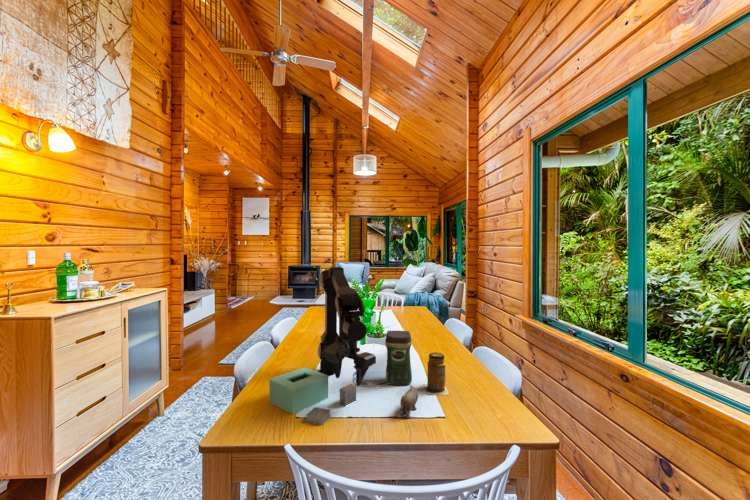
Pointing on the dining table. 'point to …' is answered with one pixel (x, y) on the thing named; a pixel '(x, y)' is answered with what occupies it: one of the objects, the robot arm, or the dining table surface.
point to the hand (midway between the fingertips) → (347, 381)
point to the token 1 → (318, 416)
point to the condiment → (436, 375)
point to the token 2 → (347, 394)
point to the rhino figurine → (409, 401)
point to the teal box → (298, 389)
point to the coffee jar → (398, 358)
